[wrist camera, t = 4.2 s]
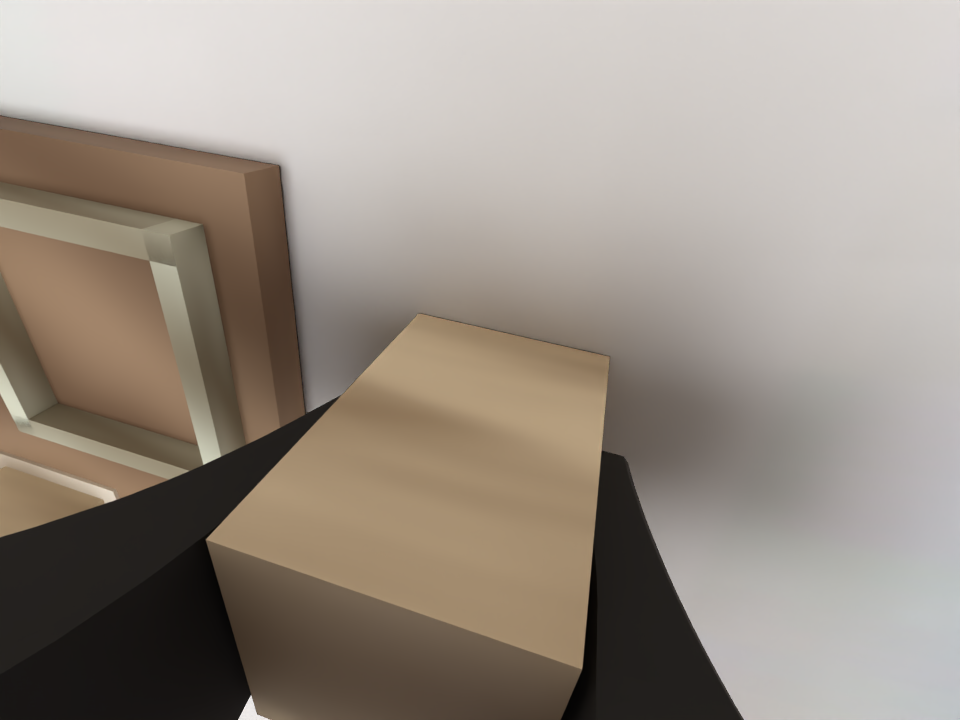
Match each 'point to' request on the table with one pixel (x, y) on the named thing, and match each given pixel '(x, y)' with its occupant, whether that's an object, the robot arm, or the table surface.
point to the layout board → (134, 316)
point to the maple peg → (426, 537)
